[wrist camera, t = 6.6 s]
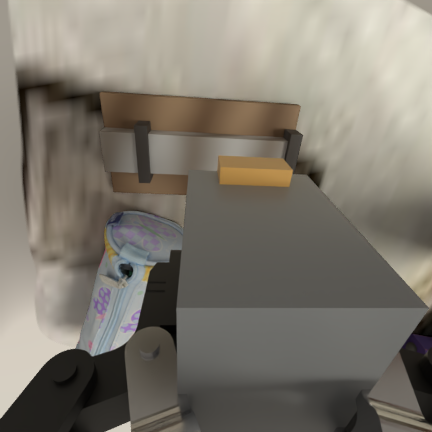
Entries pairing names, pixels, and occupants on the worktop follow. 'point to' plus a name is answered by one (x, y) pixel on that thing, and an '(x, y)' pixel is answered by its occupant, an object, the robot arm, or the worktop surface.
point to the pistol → (418, 343)
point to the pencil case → (125, 277)
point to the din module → (280, 303)
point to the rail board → (189, 121)
